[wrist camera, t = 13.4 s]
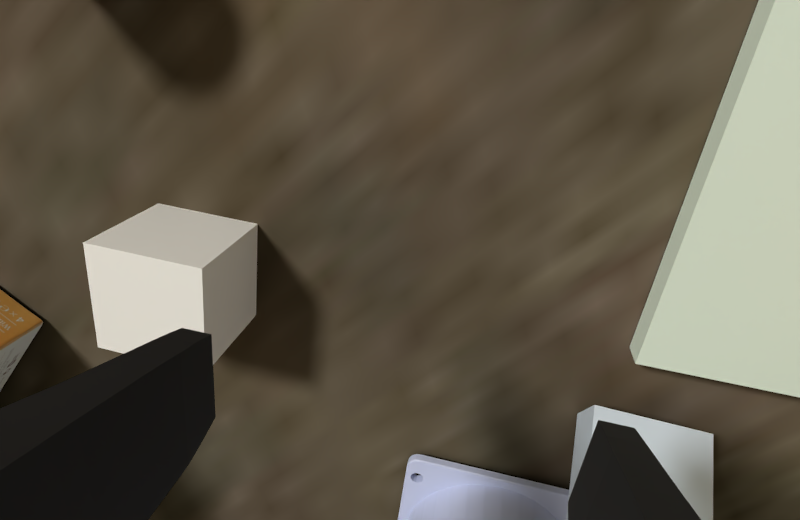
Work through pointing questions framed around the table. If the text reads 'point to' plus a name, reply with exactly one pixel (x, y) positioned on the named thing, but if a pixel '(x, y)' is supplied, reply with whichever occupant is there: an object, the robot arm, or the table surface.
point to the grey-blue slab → (658, 453)
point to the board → (739, 229)
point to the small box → (14, 334)
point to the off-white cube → (172, 278)
